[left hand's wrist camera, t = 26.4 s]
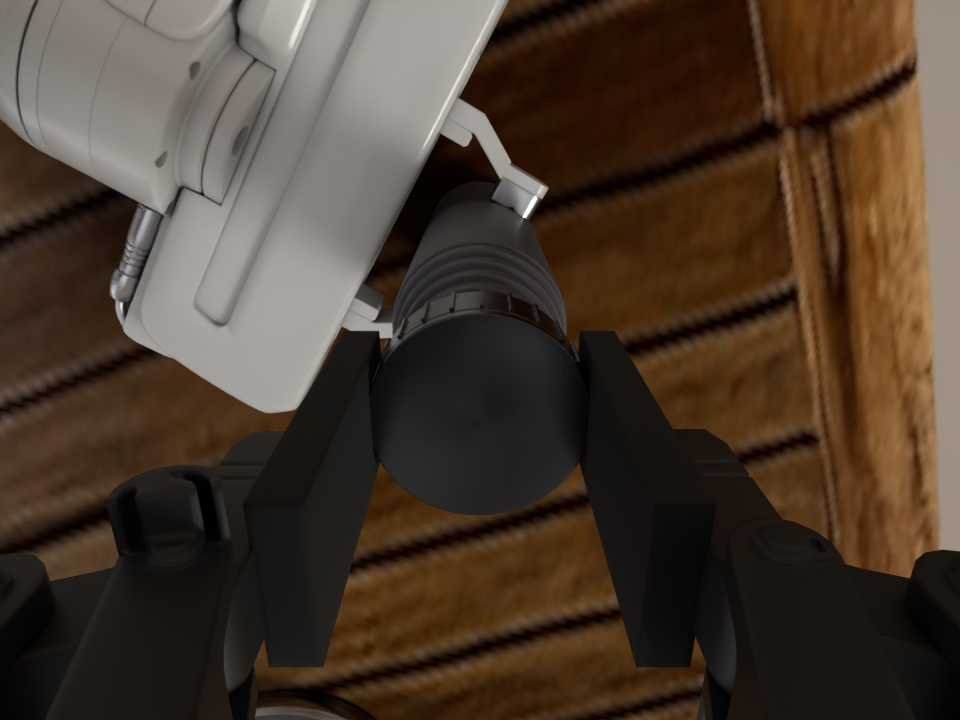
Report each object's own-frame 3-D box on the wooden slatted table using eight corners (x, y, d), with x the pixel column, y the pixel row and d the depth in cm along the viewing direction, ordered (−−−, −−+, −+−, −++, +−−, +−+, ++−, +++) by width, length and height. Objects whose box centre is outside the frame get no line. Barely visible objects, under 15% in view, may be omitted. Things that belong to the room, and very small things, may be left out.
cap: (360, 300, 14) (344, 325, 12) (576, 277, 13) (589, 298, 12) (394, 484, 15) (384, 527, 14) (587, 467, 15) (599, 507, 14)
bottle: (452, 164, 31) (412, 252, 12) (545, 206, 32) (639, 348, 13) (414, 258, 32) (329, 459, 14) (504, 296, 33) (535, 534, 15)
